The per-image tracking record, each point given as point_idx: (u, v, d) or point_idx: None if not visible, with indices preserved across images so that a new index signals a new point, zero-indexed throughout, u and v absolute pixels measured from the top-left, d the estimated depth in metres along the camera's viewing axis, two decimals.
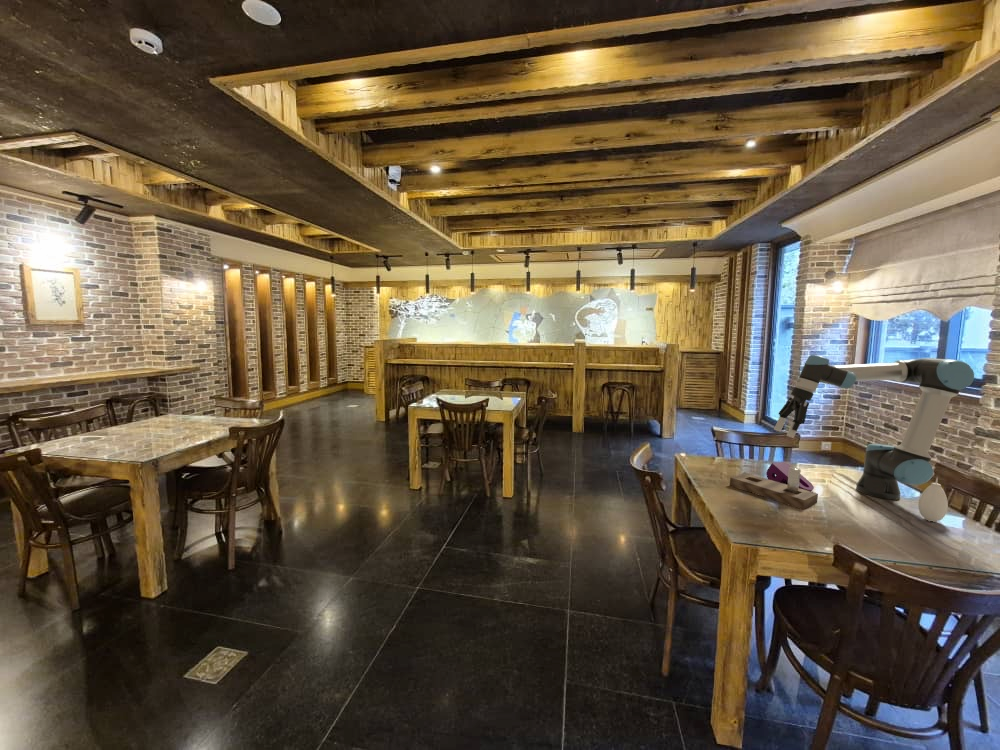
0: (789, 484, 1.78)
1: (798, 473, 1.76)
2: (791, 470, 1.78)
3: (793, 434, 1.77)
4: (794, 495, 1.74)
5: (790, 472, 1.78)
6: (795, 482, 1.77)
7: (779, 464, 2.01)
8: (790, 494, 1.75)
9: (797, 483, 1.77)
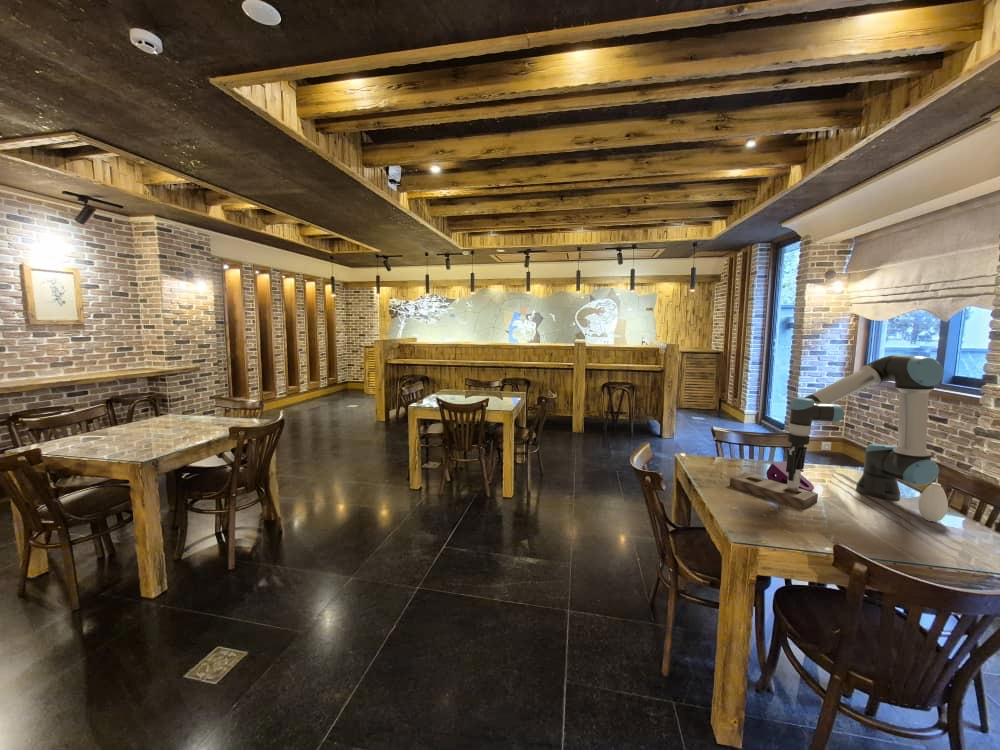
0: None
1: (798, 473, 1.76)
2: None
3: (792, 484, 1.77)
4: (794, 495, 1.74)
5: None
6: (795, 482, 1.77)
7: (779, 464, 2.01)
8: (790, 494, 1.75)
9: (797, 483, 1.77)
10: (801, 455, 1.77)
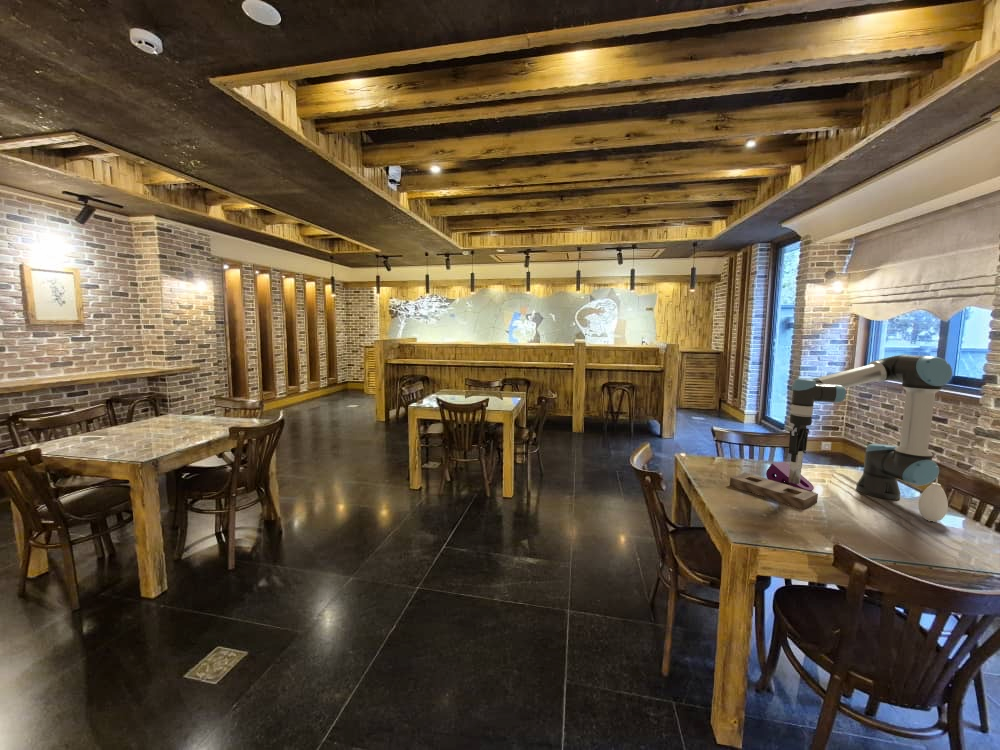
0: None
1: (801, 455, 1.75)
2: None
3: (795, 466, 1.76)
4: (794, 495, 1.74)
5: None
6: None
7: (779, 464, 2.01)
8: (790, 494, 1.75)
9: (800, 465, 1.76)
10: (803, 436, 1.76)
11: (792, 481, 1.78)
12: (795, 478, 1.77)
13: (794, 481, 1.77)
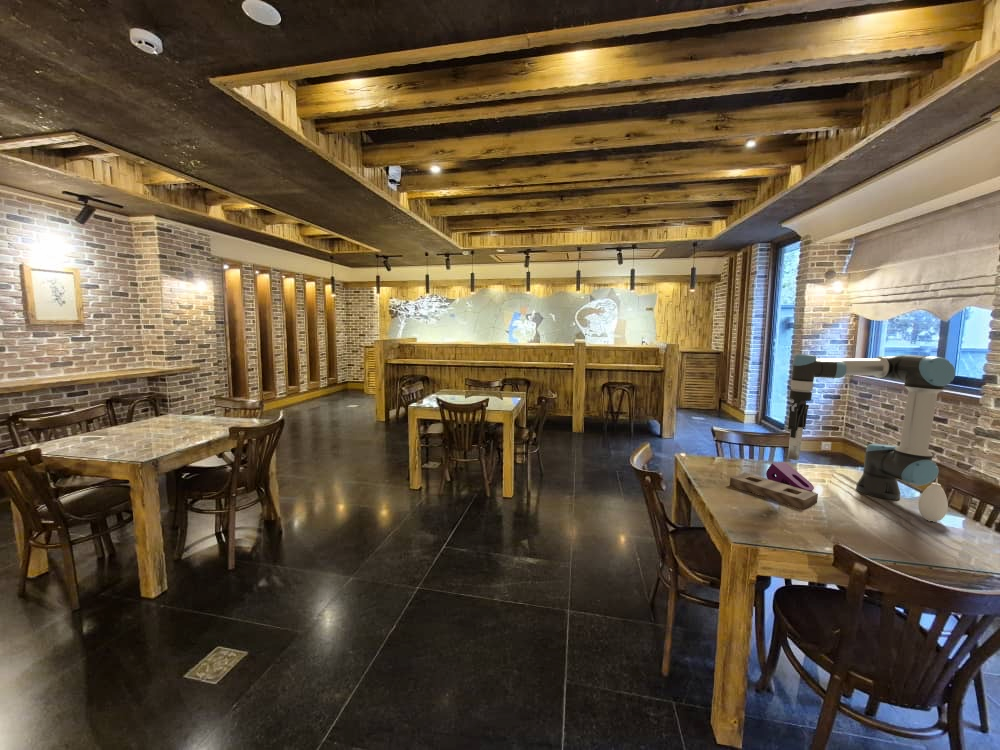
0: None
1: (800, 431, 1.75)
2: None
3: (794, 441, 1.76)
4: (794, 495, 1.74)
5: None
6: (797, 440, 1.76)
7: (779, 464, 2.01)
8: (790, 494, 1.75)
9: (799, 441, 1.76)
10: (803, 412, 1.76)
11: (791, 457, 1.77)
12: (794, 454, 1.77)
13: (793, 457, 1.77)
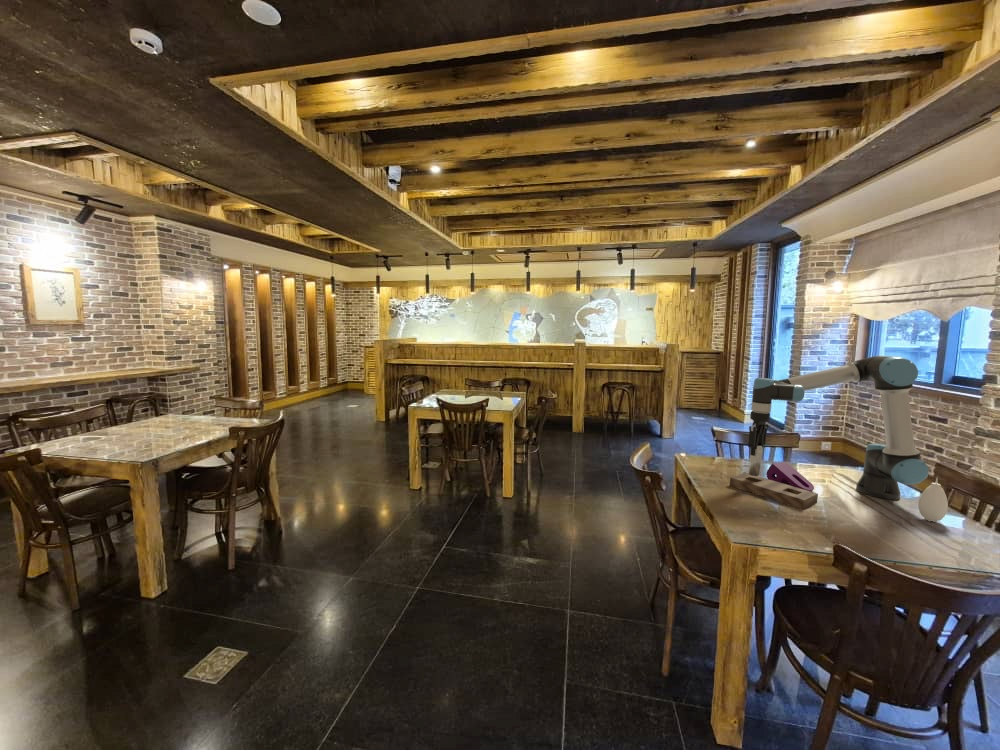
0: None
1: (759, 449, 1.89)
2: None
3: (754, 459, 1.89)
4: (794, 495, 1.74)
5: None
6: None
7: (779, 464, 2.01)
8: (790, 494, 1.75)
9: (758, 458, 1.89)
10: (762, 432, 1.90)
11: (752, 473, 1.91)
12: (754, 471, 1.90)
13: (753, 473, 1.90)
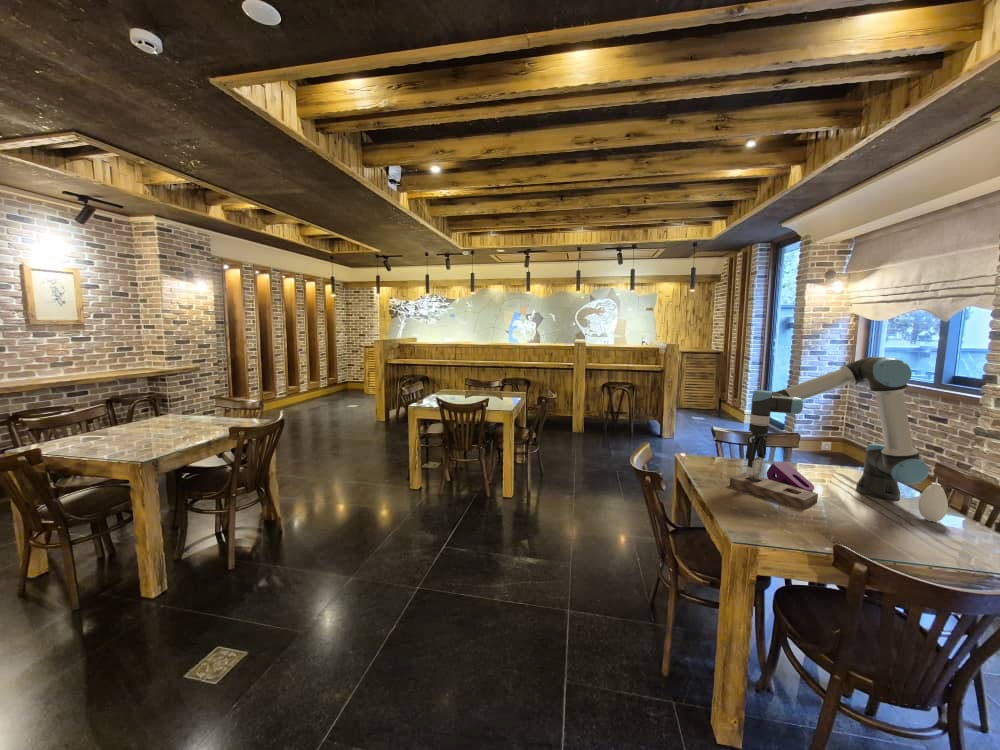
0: None
1: (758, 462, 1.90)
2: None
3: (751, 470, 1.89)
4: (794, 495, 1.74)
5: None
6: (755, 471, 1.90)
7: (779, 464, 2.01)
8: (790, 494, 1.75)
9: (757, 472, 1.90)
10: (762, 443, 1.90)
11: None
12: None
13: None
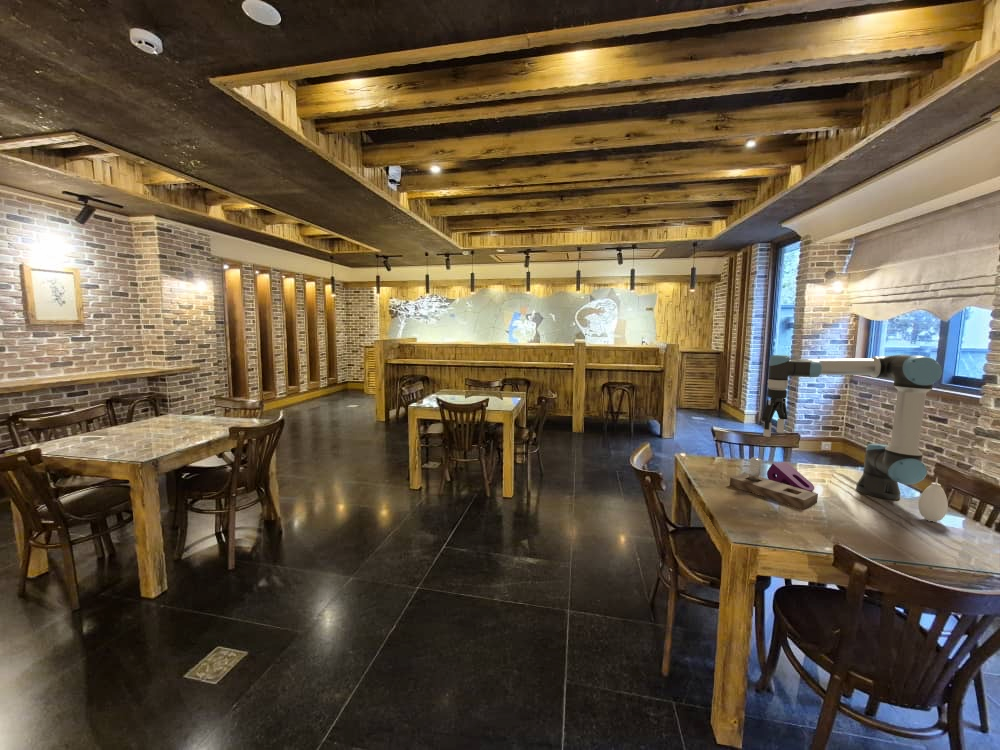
0: (750, 473, 1.92)
1: (758, 462, 1.90)
2: (752, 460, 1.91)
3: (768, 433, 1.85)
4: (794, 495, 1.74)
5: (751, 462, 1.91)
6: (755, 471, 1.90)
7: (780, 464, 2.01)
8: (790, 494, 1.75)
9: (757, 472, 1.90)
10: (781, 408, 1.89)
11: None
12: None
13: None
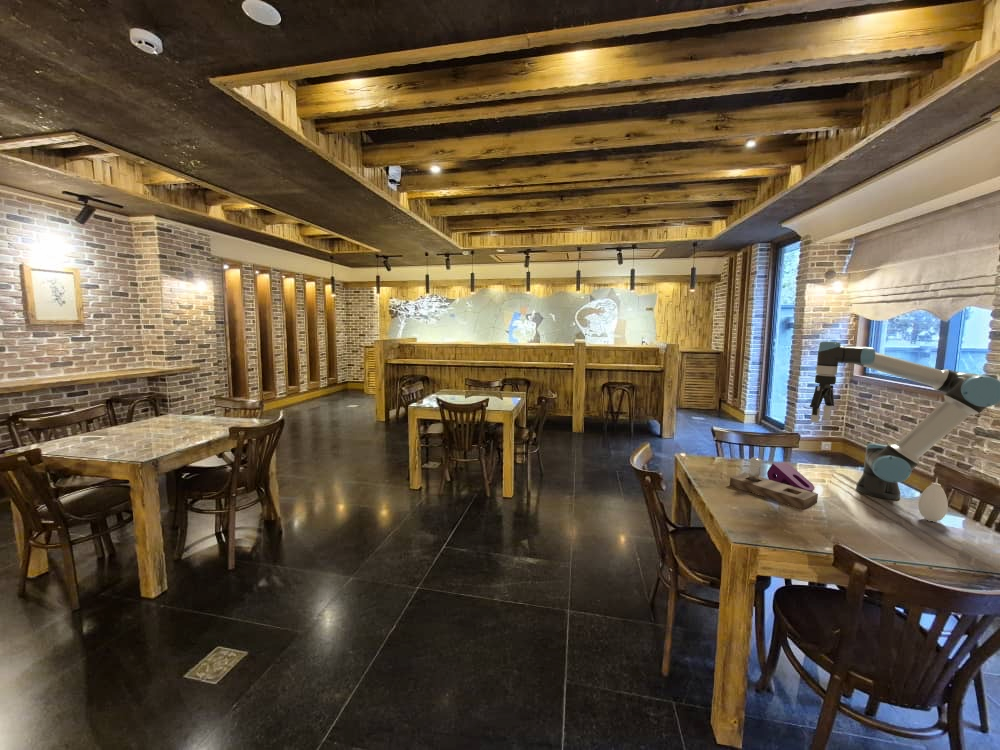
0: (750, 473, 1.92)
1: (758, 462, 1.90)
2: (752, 460, 1.91)
3: (816, 419, 1.86)
4: (794, 495, 1.74)
5: (751, 462, 1.91)
6: (755, 471, 1.90)
7: (780, 464, 2.01)
8: (790, 494, 1.75)
9: (757, 472, 1.90)
10: (829, 394, 1.90)
11: None
12: None
13: None
